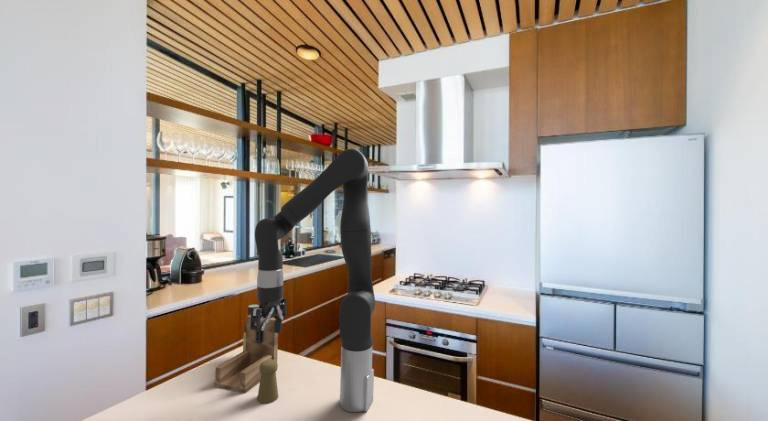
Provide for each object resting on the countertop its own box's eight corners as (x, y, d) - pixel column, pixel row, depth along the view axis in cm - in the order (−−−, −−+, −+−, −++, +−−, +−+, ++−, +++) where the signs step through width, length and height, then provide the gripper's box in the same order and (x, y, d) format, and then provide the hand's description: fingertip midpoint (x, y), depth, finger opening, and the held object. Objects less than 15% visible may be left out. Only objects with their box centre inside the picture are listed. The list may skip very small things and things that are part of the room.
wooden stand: (277, 368, 114) (278, 318, 114) (245, 392, 98) (247, 334, 99) (248, 363, 117) (250, 314, 117) (214, 386, 102) (215, 329, 102)
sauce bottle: (256, 362, 118) (257, 308, 118) (239, 361, 118) (241, 308, 119) (263, 354, 125) (264, 303, 125) (247, 354, 125) (248, 303, 125)
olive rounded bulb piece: (269, 390, 100) (270, 355, 100) (282, 396, 97) (283, 360, 97) (252, 399, 95) (253, 362, 95) (266, 406, 92) (267, 368, 92)
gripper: (265, 290, 89) (264, 348, 89) (294, 280, 103) (293, 330, 102) (243, 288, 91) (242, 344, 91) (274, 278, 105) (273, 327, 105)
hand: (269, 337), depth 97 cm, fingers open, 8 cm apart
